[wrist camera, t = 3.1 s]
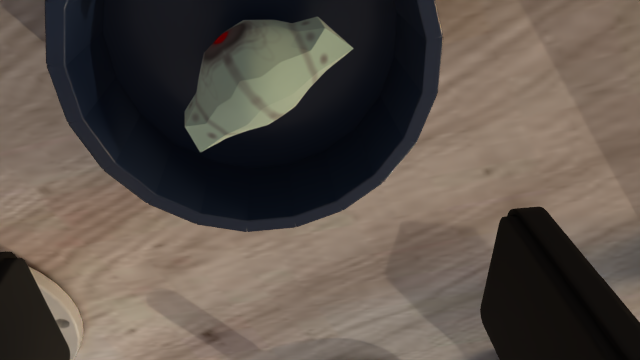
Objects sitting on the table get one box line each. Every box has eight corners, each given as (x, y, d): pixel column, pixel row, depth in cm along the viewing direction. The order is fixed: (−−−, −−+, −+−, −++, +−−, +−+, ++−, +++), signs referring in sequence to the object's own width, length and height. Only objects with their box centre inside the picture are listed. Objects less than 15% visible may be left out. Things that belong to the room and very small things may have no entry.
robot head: (219, 118, 25) (205, 188, 19) (164, 57, 23) (131, 115, 17) (345, 31, 23) (372, 80, 18) (298, -45, 21) (310, -17, 16)
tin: (136, 185, 27) (111, 245, 23) (38, -138, 19) (-32, -143, 14) (399, 162, 28) (425, 215, 24) (418, -155, 20) (464, -165, 15)
